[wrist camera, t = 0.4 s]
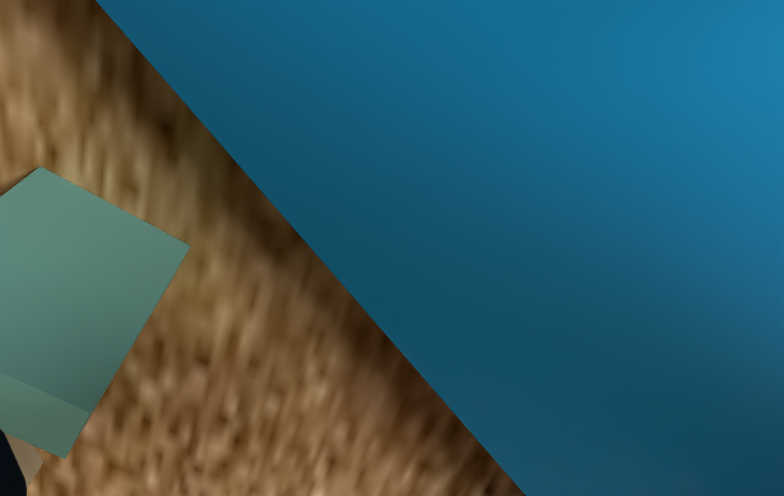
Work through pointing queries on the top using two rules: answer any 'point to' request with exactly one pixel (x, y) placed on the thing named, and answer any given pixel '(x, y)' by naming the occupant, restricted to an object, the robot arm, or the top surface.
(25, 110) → the top surface
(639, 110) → the book
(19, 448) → the domino
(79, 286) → the teal domino
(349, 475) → the top surface
